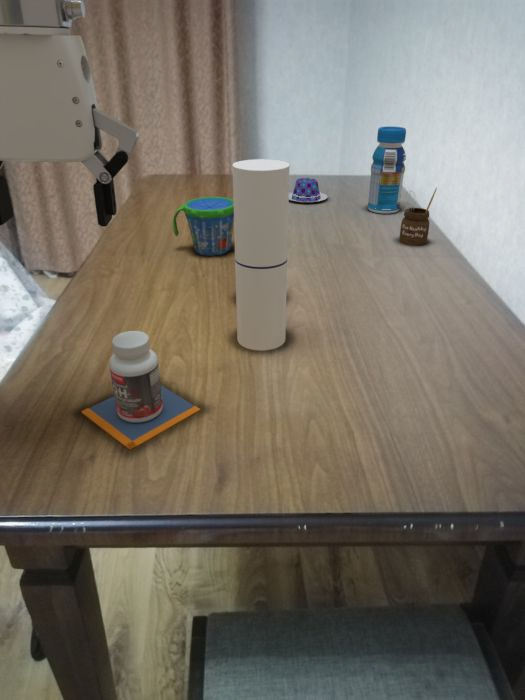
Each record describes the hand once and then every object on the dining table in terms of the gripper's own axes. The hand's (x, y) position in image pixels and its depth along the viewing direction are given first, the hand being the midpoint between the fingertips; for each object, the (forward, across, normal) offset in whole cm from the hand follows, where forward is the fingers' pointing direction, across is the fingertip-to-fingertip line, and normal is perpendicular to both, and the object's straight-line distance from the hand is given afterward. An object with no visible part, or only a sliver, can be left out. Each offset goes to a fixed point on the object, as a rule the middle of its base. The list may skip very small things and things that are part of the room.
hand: (55, 221), depth 52 cm
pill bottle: (+23, -6, 0) cm, 24 cm away
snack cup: (+24, -12, -57) cm, 63 cm away
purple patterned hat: (+23, -37, -99) cm, 108 cm away
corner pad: (+23, -6, 0) cm, 24 cm away
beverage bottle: (+23, -56, -87) cm, 105 cm away
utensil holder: (+22, -56, -60) cm, 86 cm away
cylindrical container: (+23, -21, -18) cm, 36 cm away
